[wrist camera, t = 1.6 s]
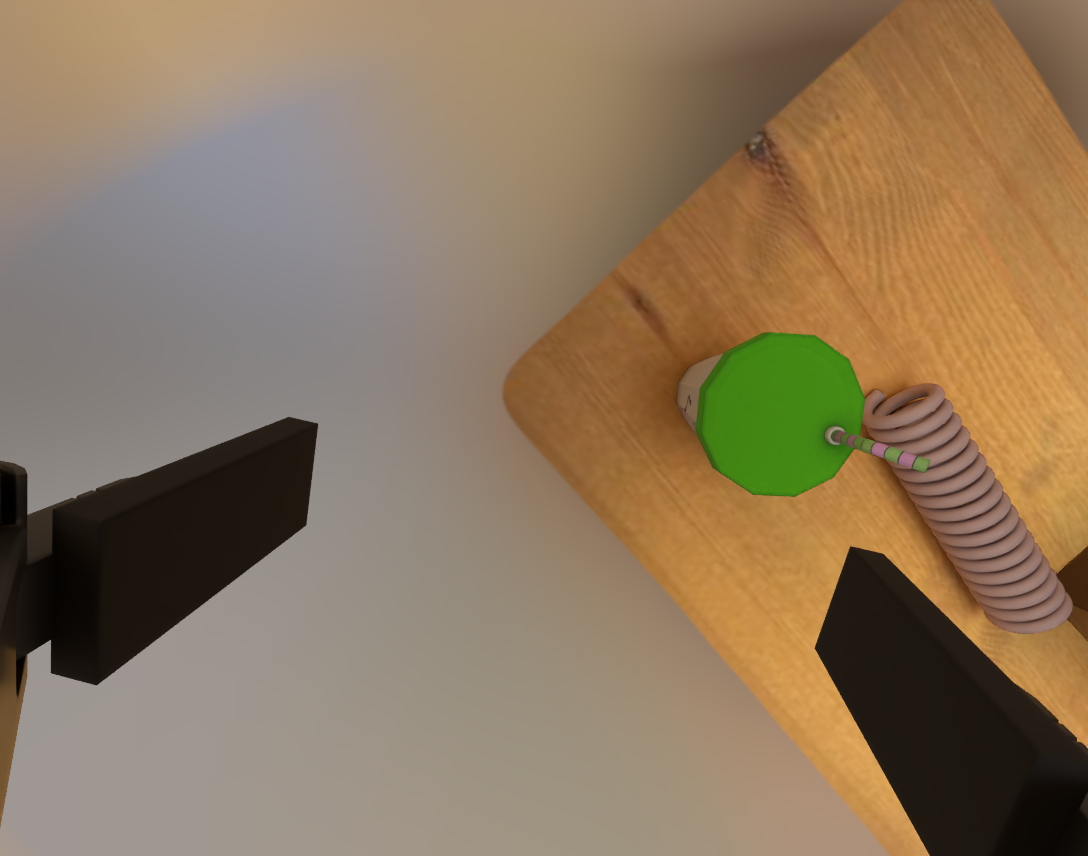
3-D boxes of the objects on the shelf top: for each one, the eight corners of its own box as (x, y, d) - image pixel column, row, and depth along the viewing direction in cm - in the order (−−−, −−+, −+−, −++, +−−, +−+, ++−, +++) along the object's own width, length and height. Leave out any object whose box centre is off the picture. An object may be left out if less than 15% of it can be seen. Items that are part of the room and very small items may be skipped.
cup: (625, 385, 38) (697, 418, 24) (725, 305, 38) (863, 287, 23) (698, 479, 40) (812, 568, 25) (796, 403, 39) (971, 446, 24)
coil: (878, 424, 35) (1026, 656, 38) (952, 376, 34) (1098, 616, 37) (841, 408, 40) (976, 617, 42) (906, 366, 39) (1039, 581, 42)
